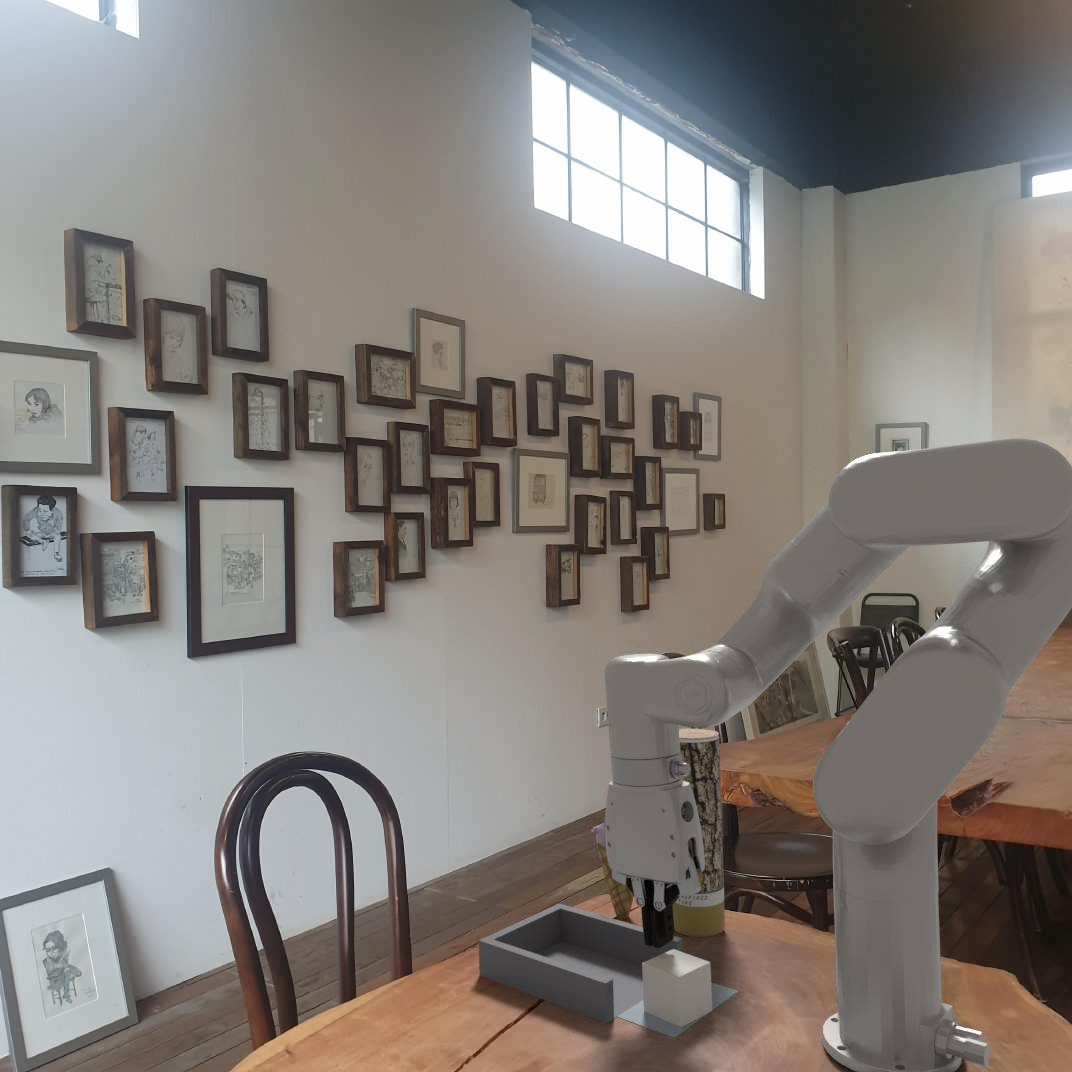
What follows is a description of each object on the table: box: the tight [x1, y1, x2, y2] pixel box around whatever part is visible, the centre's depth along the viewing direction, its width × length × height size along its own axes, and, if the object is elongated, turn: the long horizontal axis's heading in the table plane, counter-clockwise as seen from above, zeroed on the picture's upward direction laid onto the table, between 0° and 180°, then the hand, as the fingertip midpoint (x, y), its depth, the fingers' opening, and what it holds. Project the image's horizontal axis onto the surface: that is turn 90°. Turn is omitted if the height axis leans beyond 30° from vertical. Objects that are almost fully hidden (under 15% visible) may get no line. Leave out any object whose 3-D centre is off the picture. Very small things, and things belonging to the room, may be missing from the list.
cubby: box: [478, 903, 740, 1039], centre depth 108 cm, size 25×14×4 cm, turn 49°
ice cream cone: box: [590, 811, 635, 920], centre depth 128 cm, size 7×6×15 cm
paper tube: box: [673, 728, 726, 938], centre depth 123 cm, size 7×7×25 cm
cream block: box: [642, 949, 713, 1027], centre depth 101 cm, size 5×5×5 cm
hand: (659, 942), depth 103 cm, fingers closed
